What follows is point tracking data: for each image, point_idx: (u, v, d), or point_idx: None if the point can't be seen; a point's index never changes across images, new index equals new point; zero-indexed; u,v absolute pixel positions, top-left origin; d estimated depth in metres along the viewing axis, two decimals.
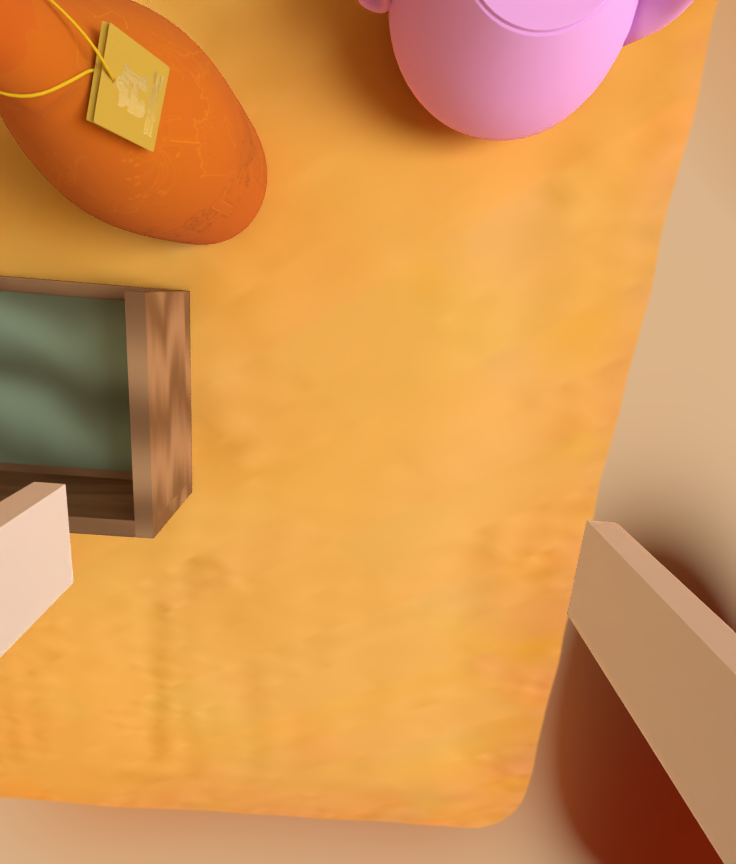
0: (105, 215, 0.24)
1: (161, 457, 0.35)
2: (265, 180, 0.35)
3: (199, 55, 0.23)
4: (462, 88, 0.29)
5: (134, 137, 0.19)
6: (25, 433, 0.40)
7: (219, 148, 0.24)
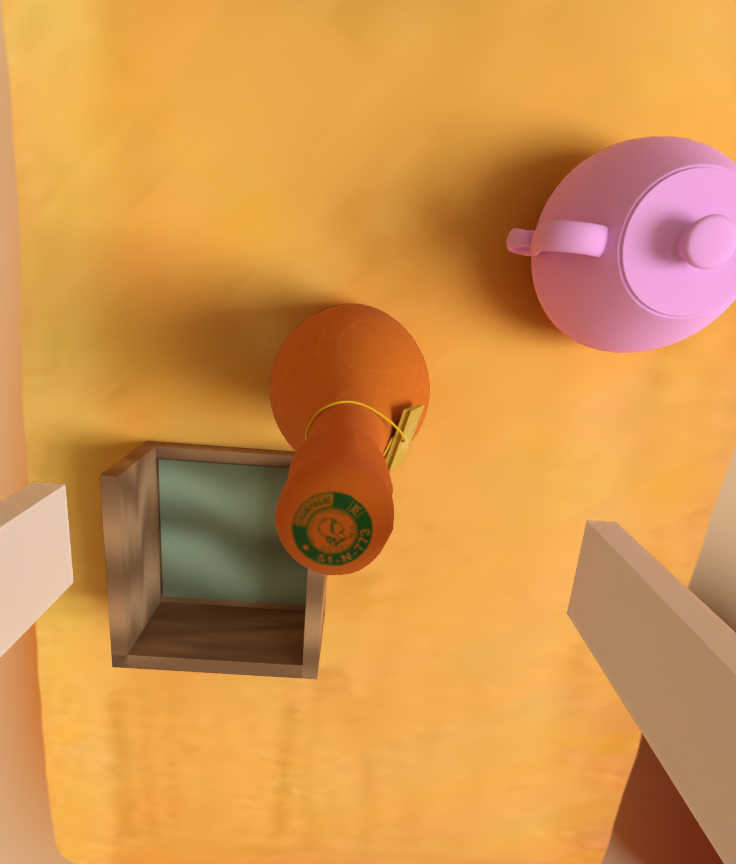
0: None
1: (322, 608, 0.41)
2: None
3: (417, 353, 0.29)
4: (601, 333, 0.35)
5: (400, 461, 0.25)
6: (189, 573, 0.46)
7: (424, 416, 0.30)
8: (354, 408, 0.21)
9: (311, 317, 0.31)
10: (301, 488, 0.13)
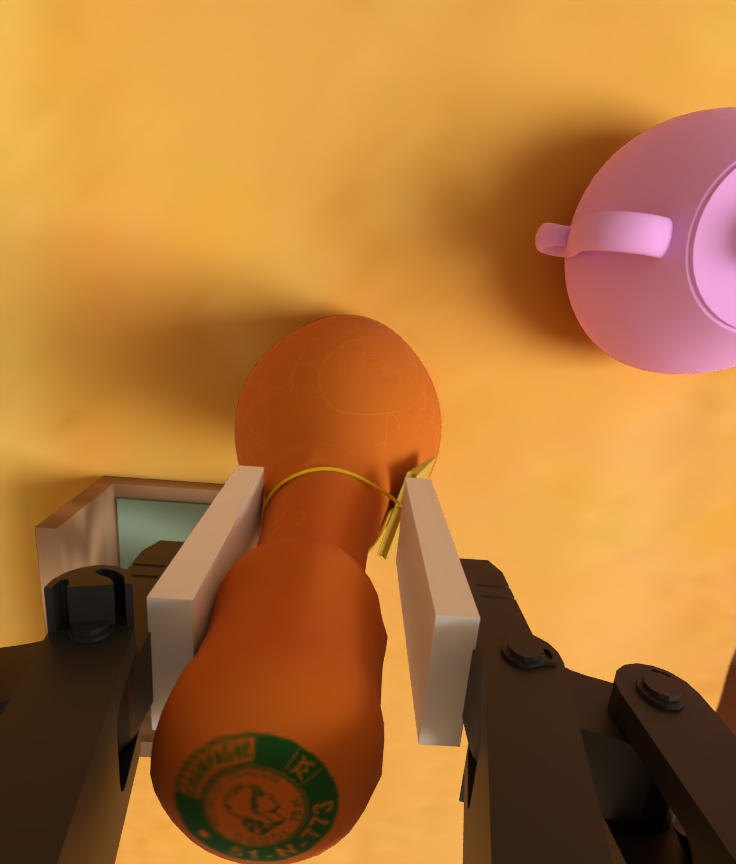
0: None
1: None
2: None
3: (425, 382, 0.22)
4: (654, 353, 0.28)
5: None
6: None
7: (435, 462, 0.24)
8: (332, 480, 0.14)
9: (289, 334, 0.24)
10: (193, 719, 0.07)
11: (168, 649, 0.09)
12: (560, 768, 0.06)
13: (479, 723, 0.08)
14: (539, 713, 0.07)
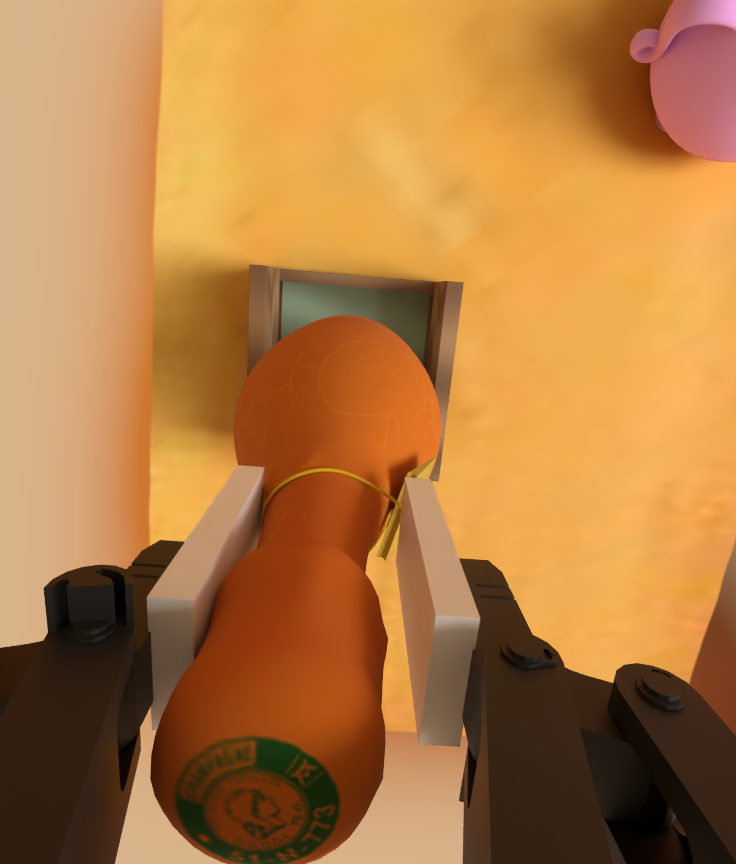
0: None
1: None
2: None
3: (425, 383, 0.22)
4: (724, 124, 0.37)
5: None
6: None
7: None
8: (332, 481, 0.14)
9: (289, 335, 0.24)
10: (192, 724, 0.07)
11: (168, 649, 0.09)
12: (560, 768, 0.06)
13: (479, 723, 0.08)
14: (539, 712, 0.07)
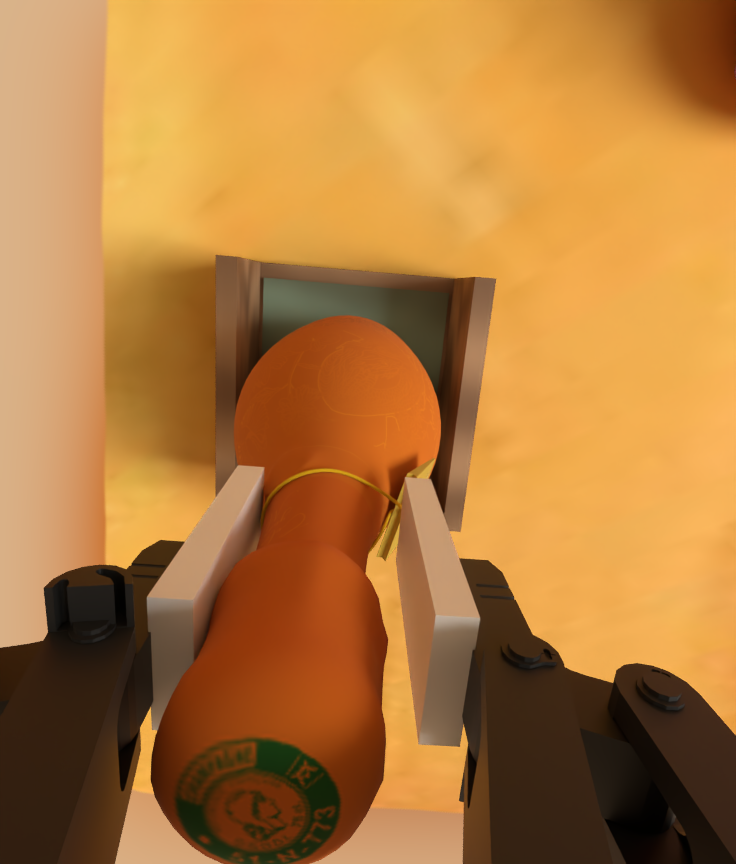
0: None
1: None
2: None
3: (425, 383, 0.22)
4: None
5: None
6: None
7: None
8: (332, 481, 0.14)
9: (288, 335, 0.24)
10: (193, 724, 0.07)
11: (168, 649, 0.09)
12: (560, 768, 0.06)
13: (479, 723, 0.08)
14: (539, 712, 0.07)
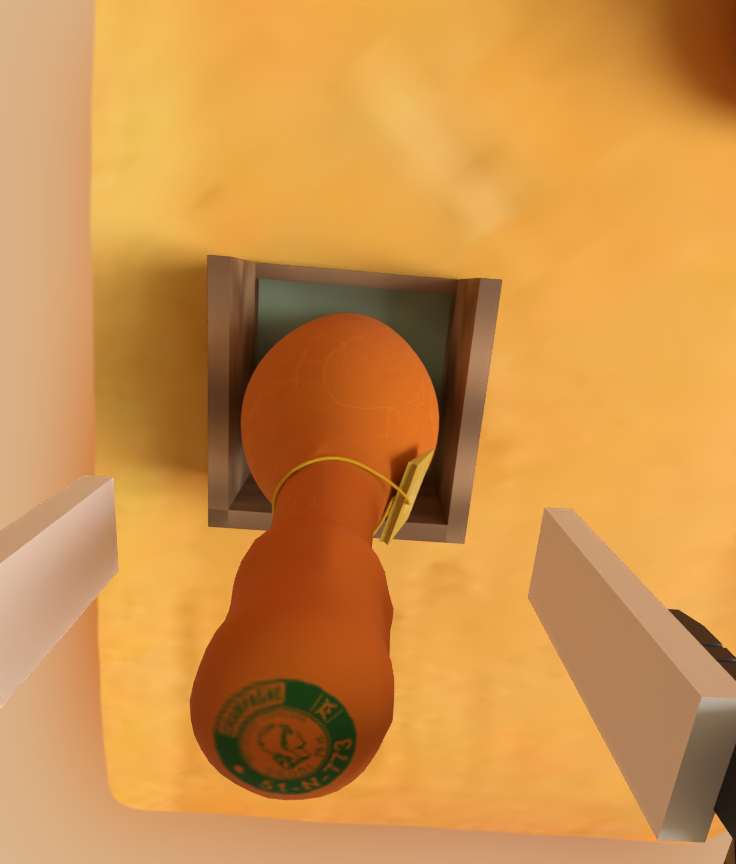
0: None
1: None
2: None
3: (424, 378, 0.23)
4: None
5: (402, 523, 0.20)
6: None
7: None
8: (339, 468, 0.15)
9: (293, 332, 0.25)
10: (229, 668, 0.08)
11: None
12: None
13: None
14: None
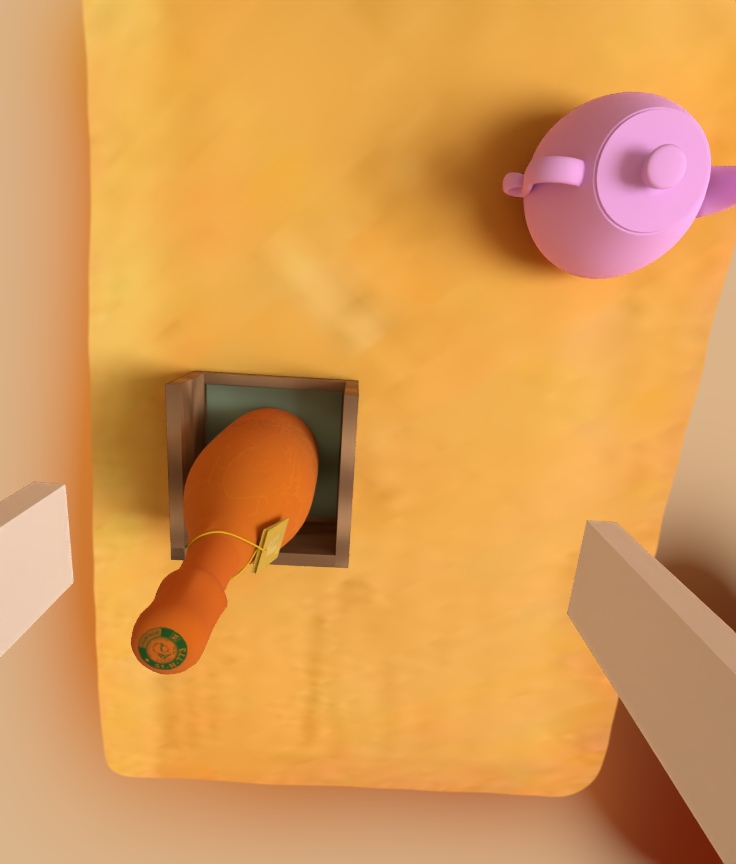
0: None
1: None
2: None
3: (295, 469, 0.38)
4: (583, 256, 0.42)
5: (270, 561, 0.34)
6: None
7: (305, 514, 0.39)
8: (217, 537, 0.30)
9: (217, 439, 0.40)
10: (143, 624, 0.22)
11: None
12: None
13: None
14: None
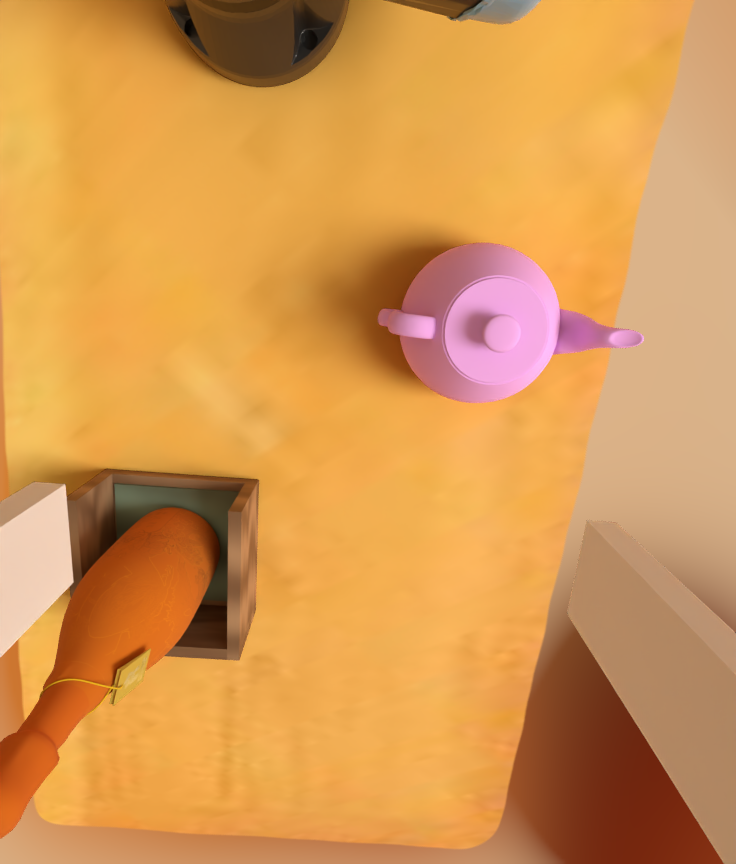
0: None
1: (244, 604, 0.52)
2: (218, 559, 0.53)
3: (168, 592, 0.42)
4: (446, 391, 0.45)
5: (132, 688, 0.38)
6: None
7: (181, 630, 0.43)
8: (66, 686, 0.34)
9: (102, 559, 0.44)
10: None
11: None
12: None
13: None
14: None
